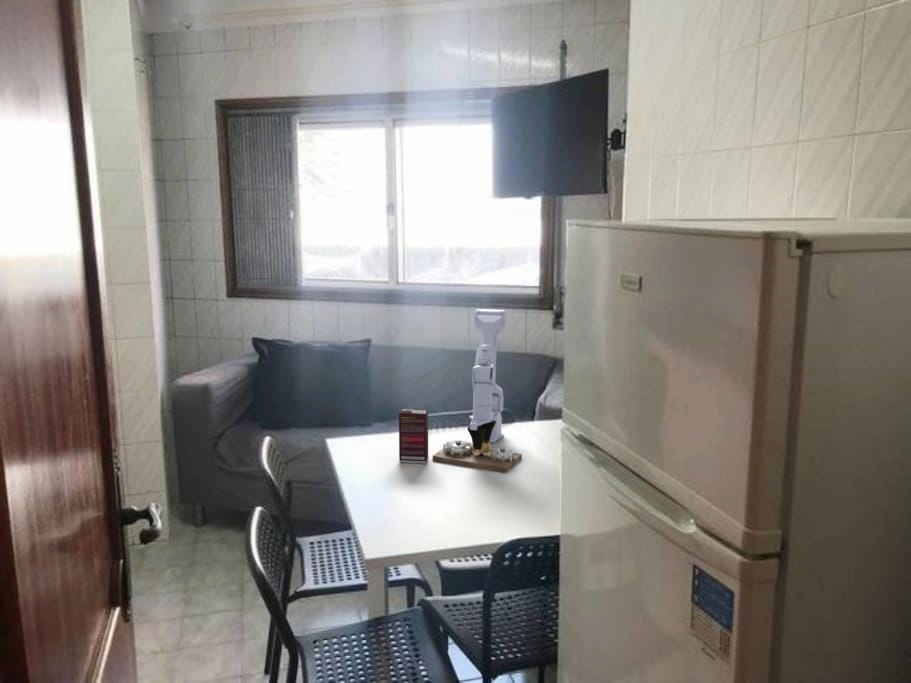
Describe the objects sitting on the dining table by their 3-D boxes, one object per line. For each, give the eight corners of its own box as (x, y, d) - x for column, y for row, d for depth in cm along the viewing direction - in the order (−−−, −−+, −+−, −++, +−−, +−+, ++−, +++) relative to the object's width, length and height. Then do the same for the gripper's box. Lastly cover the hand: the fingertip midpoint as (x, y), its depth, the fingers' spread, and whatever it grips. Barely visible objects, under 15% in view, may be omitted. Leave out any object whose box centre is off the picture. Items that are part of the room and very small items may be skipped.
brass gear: (476, 446, 236) (476, 437, 235) (493, 449, 234) (493, 440, 233) (468, 452, 231) (468, 442, 230) (485, 455, 228) (486, 445, 228)
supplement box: (428, 459, 233) (429, 409, 230) (426, 464, 228) (427, 413, 225) (401, 457, 234) (401, 408, 231) (398, 462, 229) (398, 412, 226)
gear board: (451, 447, 244) (451, 432, 243) (521, 458, 235) (521, 442, 234) (432, 460, 232) (432, 444, 231) (505, 472, 222) (506, 456, 221)
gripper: (479, 396, 238) (478, 438, 240) (460, 407, 224) (460, 451, 227) (500, 399, 235) (499, 441, 237) (482, 410, 222) (481, 454, 224)
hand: (481, 446), depth 232 cm, fingers closed on brass gear, 5 cm apart
